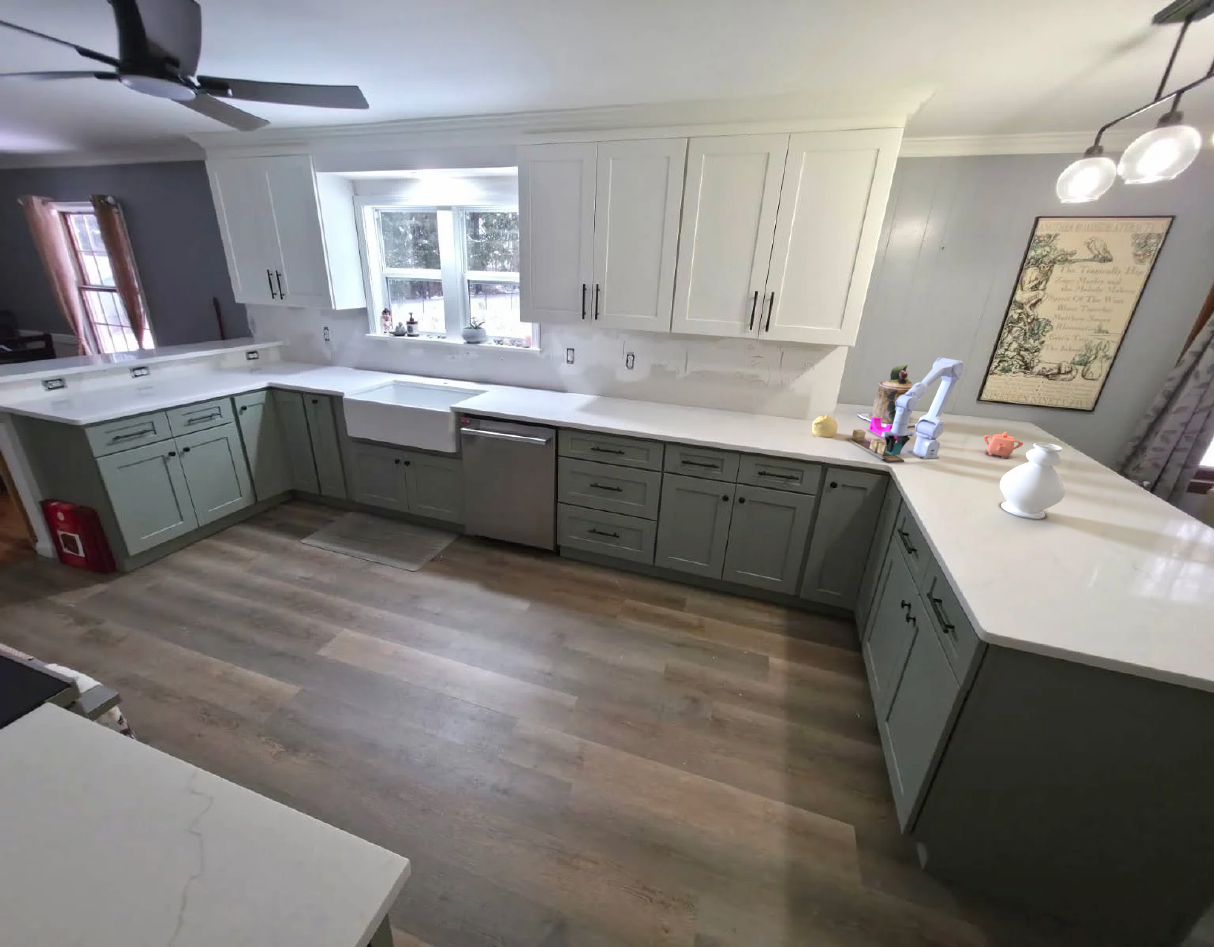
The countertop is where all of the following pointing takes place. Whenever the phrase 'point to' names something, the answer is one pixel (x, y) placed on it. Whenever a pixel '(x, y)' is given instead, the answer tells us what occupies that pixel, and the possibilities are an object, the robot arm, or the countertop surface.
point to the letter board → (867, 445)
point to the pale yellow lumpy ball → (824, 426)
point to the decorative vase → (1034, 483)
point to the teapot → (1001, 444)
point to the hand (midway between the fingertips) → (893, 451)
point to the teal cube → (896, 449)
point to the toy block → (879, 426)
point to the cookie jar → (890, 397)
